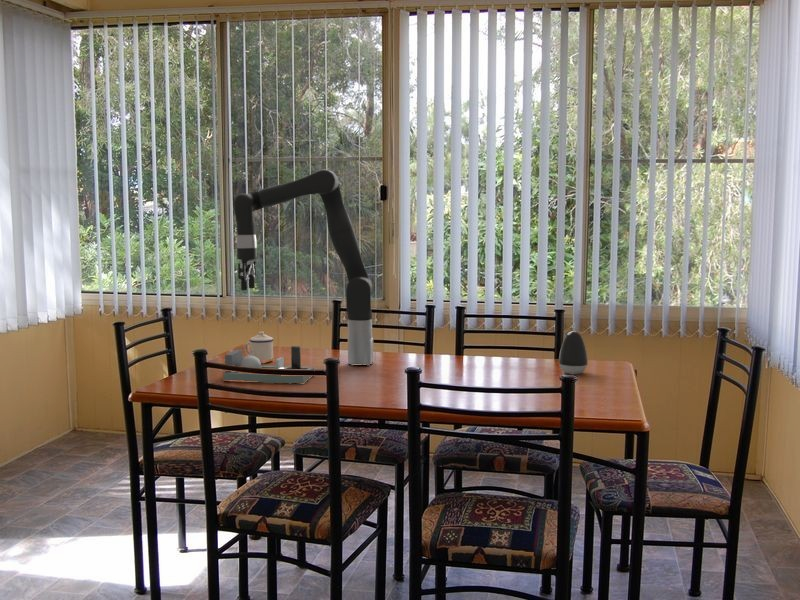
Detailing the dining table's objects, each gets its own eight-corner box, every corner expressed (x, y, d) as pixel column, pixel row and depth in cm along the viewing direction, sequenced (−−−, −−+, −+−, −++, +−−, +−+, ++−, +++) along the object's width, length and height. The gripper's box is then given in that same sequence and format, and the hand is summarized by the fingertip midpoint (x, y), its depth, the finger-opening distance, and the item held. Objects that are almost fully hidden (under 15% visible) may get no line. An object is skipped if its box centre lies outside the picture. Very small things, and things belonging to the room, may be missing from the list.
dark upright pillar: (303, 376, 290) (302, 345, 289) (298, 380, 284) (297, 348, 283) (280, 376, 292) (280, 344, 290) (275, 379, 285) (274, 347, 284)
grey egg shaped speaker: (577, 369, 305) (578, 328, 303) (592, 374, 295) (594, 332, 294) (553, 371, 302) (553, 329, 300) (567, 376, 292) (568, 334, 290)
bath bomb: (236, 380, 286) (236, 357, 285) (240, 375, 294) (240, 353, 293) (260, 380, 286) (259, 357, 285) (263, 375, 294) (263, 353, 293)
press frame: (314, 375, 294) (313, 350, 293) (303, 384, 280) (302, 358, 279) (238, 373, 298) (237, 348, 297) (223, 381, 284) (222, 355, 283)
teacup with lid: (277, 360, 324) (277, 330, 322) (267, 364, 315) (266, 334, 314) (250, 358, 328) (249, 329, 326) (238, 362, 319) (238, 332, 318)
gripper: (250, 247, 307) (251, 291, 309) (262, 245, 321) (263, 287, 323) (230, 247, 309) (232, 291, 310) (243, 246, 323) (245, 287, 324)
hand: (248, 289), depth 317 cm, fingers open, 8 cm apart
